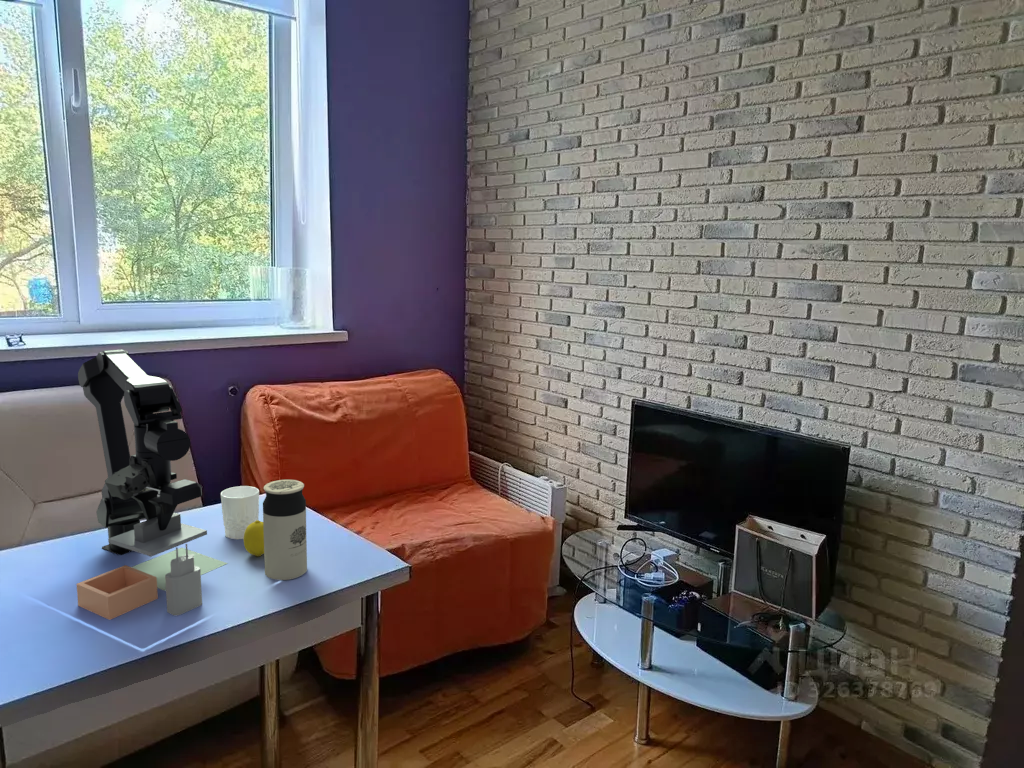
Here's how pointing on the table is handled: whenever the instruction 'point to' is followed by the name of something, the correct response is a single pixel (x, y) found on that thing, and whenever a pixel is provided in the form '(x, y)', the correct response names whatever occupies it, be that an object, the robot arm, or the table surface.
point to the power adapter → (183, 585)
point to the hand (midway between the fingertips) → (157, 528)
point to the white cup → (239, 509)
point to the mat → (163, 566)
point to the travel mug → (284, 530)
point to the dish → (117, 591)
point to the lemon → (254, 538)
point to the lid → (157, 536)
